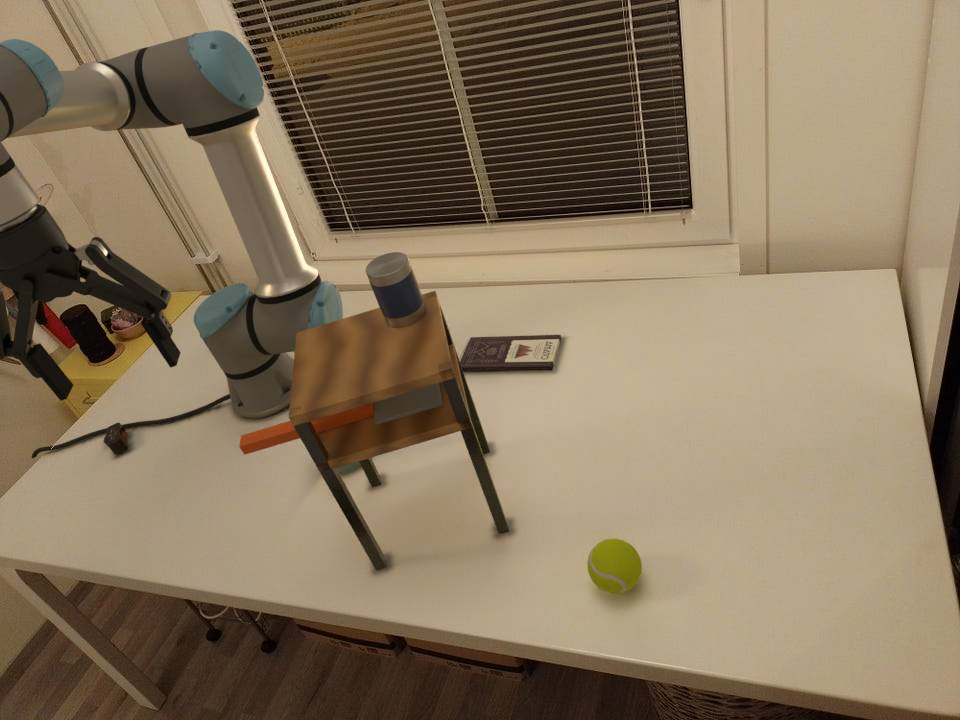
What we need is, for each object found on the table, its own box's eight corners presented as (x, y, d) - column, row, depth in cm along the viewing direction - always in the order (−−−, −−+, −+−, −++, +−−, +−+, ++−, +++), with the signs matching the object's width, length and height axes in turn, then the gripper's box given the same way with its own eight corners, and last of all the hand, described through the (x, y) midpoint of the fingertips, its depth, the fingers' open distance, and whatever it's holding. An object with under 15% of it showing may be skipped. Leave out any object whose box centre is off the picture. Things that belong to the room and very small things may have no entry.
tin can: (386, 332, 91) (365, 281, 86) (384, 309, 96) (364, 259, 91) (428, 320, 91) (410, 268, 86) (424, 297, 95) (406, 246, 91)
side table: (376, 570, 101) (288, 417, 82) (371, 480, 115) (296, 332, 97) (509, 531, 101) (451, 368, 82) (488, 445, 115) (435, 290, 96)
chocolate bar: (470, 337, 138) (560, 334, 131) (471, 341, 138) (561, 338, 132) (457, 367, 131) (551, 366, 125) (459, 371, 132) (552, 370, 125)
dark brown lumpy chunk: (128, 430, 144) (119, 419, 142) (129, 450, 138) (120, 439, 136) (106, 441, 143) (97, 429, 141) (106, 461, 137) (96, 450, 135)
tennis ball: (586, 599, 89) (577, 568, 85) (597, 555, 94) (590, 524, 90) (639, 609, 87) (633, 577, 83) (648, 563, 91) (643, 531, 87)
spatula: (242, 465, 91) (237, 456, 90) (247, 434, 95) (242, 425, 95) (442, 405, 90) (439, 396, 89) (437, 377, 95) (434, 368, 94)
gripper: (-132, 273, 68) (10, 427, 81) (112, 197, 67) (216, 364, 80) (-93, 238, 74) (33, 387, 87) (131, 169, 73) (225, 328, 86)
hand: (121, 376), depth 84 cm, fingers open, 13 cm apart
